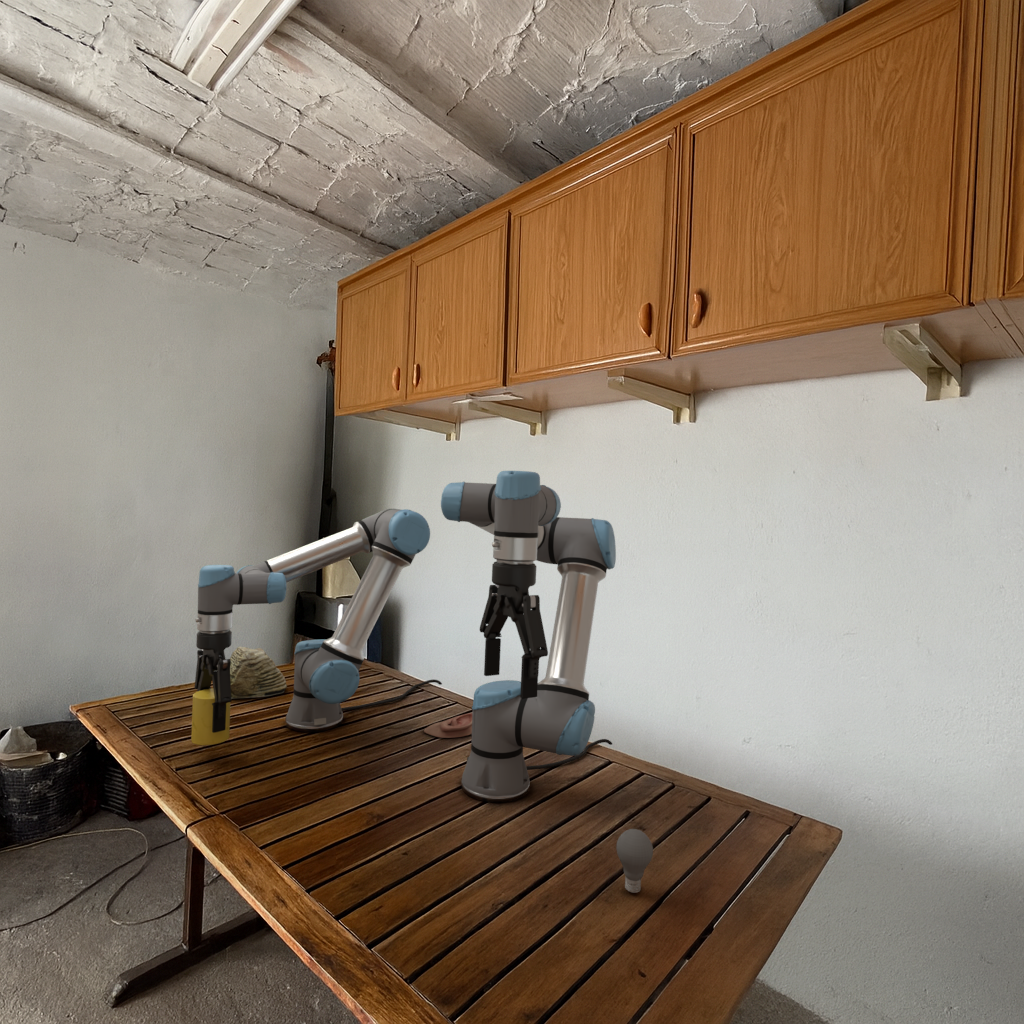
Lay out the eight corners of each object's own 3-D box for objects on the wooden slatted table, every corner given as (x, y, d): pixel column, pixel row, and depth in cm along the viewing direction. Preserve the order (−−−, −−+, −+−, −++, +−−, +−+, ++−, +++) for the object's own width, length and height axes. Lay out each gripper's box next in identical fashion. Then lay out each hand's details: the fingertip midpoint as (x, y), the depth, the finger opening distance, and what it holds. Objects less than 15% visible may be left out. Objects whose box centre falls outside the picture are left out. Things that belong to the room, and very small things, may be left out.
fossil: (218, 695, 195) (220, 647, 195) (278, 685, 208) (279, 640, 207) (228, 703, 189) (230, 653, 188) (289, 692, 201) (290, 645, 201)
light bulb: (610, 879, 108) (613, 822, 108) (644, 879, 109) (647, 822, 109) (619, 902, 102) (622, 840, 102) (655, 901, 103) (658, 840, 103)
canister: (187, 746, 145) (189, 699, 145) (194, 733, 153) (196, 689, 153) (226, 743, 148) (228, 697, 147) (231, 731, 156) (233, 687, 155)
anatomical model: (420, 720, 170) (434, 707, 181) (419, 735, 170) (433, 721, 181) (467, 726, 167) (478, 712, 179) (467, 741, 167) (478, 726, 179)
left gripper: (181, 624, 154) (178, 717, 155) (216, 640, 140) (212, 742, 140) (213, 621, 160) (210, 710, 160) (249, 636, 145) (246, 734, 146)
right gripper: (464, 554, 117) (460, 668, 117) (531, 570, 95) (525, 710, 95) (501, 554, 121) (496, 665, 121) (573, 569, 99) (567, 705, 99)
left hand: (211, 725), depth 150 cm, fingers closed on canister, 8 cm apart
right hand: (509, 685), depth 108 cm, fingers open, 13 cm apart
